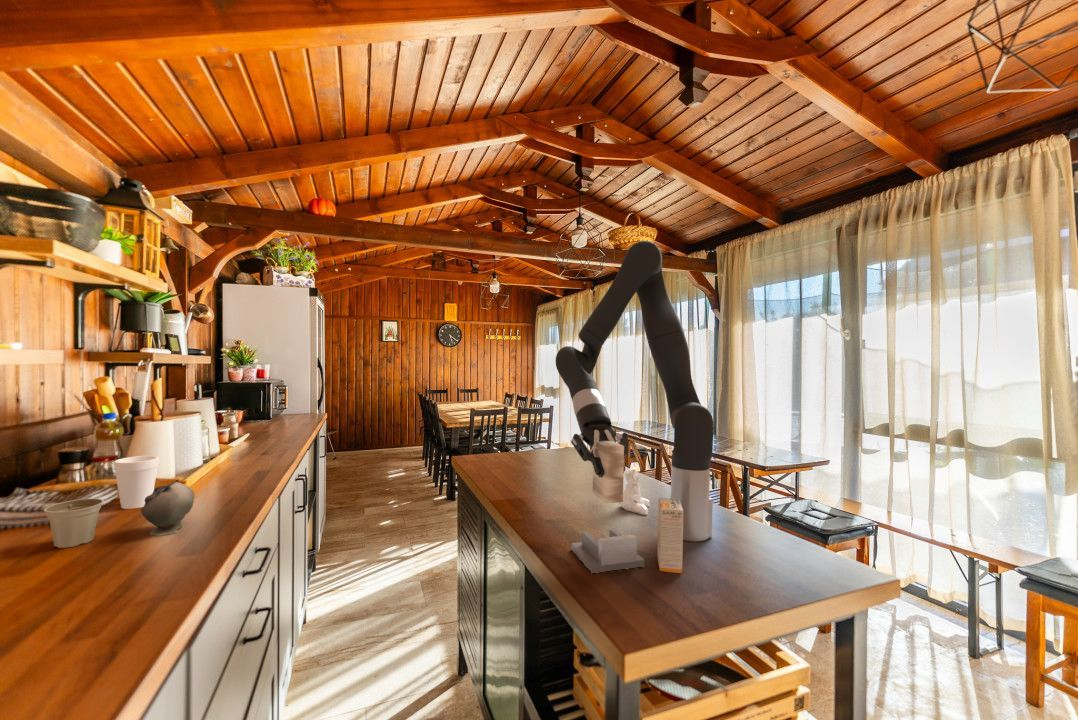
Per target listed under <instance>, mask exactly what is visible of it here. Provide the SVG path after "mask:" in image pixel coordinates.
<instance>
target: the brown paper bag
mask: <svg viewBox="0 0 1078 720" xmlns="http://www.w3.org/2000/svg"><path fill="white" fill-rule="evenodd" d="M615 442H616V441H615ZM615 442H613V441H599V442H596V443H597V446H598V452H599V458H600V459H601V462H602V465H603V468H604V472H605V473H604V475H603V477H600V478H599V476H598V475H596V473H595V471H594V467H593V466H592V495H593V496H595V497H596V498H598V499H599V500H601V502H602V503H604V504H615V503H619V502H623V493H624V475H625V471H624V466H625V462H624V461H625V458H624V446H623V445H620V444H618V442H616V443H615Z"/></svg>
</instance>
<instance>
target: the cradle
mask: <svg viewBox="0 0 1078 720" xmlns="http://www.w3.org/2000/svg"><path fill="white" fill-rule="evenodd" d="M608 531H609V536H608V537H599V538H598V540H597V539H596V538H595V537H593V536H592V534H590V532H588V531H587V530H586V531H581V541H579V542H578V541H577V542H571V544H570V546H571V547H570V550H571V549H572V550H571V551H572V553H573V554H574V553H575V554H576V555H577V556H578V557H579V558H578V557H577V556H576V555H575V554H574V555H575V556H576V557H577V558H578V559H579V560H581V561H582V562H583V563H584V564H583V563H582V562H581V563H582V564H583V566H585V568H588V569H589V570H590V571H591V572H590V571H589V570H588V569H587V570H588V571H589V572H590V573H591V574H592V573H596V574H598V573H597V572H603V571H609V570H618V569H626V568H635V567H642V568H645V563H646V561H645V559H644V558H643V557H642V556H641V555H639V554H638V553H637V548H638V547H637V545H638V544H637V543H638V542H637V540H638V538H637V536H636V535H634V534H627V535H623V534H621V532H619V531H618V530H617V529H615V528H609V530H608ZM635 569H636V568H635Z"/></svg>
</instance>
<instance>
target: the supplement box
mask: <svg viewBox="0 0 1078 720" xmlns="http://www.w3.org/2000/svg"><path fill="white" fill-rule="evenodd" d="M657 506H658V507H657V509H658V511H657V514H658V515H657V522H658V523H657V548H656V549H657V555H656V556H657V563H658V568H659V569H658V570H659V571H660V572H664V573H665V572H666V573H674V574H682V573H683V552H684V551H683V547H684V540H683V508H682V505H681V502H680V500H679V499H671V498H665V497H659V498H658V505H657Z"/></svg>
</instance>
